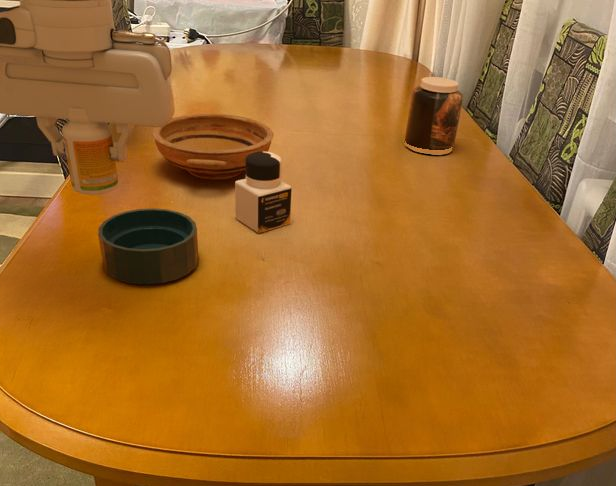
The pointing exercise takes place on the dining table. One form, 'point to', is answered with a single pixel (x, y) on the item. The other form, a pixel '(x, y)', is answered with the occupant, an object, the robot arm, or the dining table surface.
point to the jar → (434, 114)
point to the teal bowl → (148, 245)
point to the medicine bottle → (263, 193)
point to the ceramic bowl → (211, 143)
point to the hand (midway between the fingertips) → (90, 157)
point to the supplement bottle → (89, 154)
